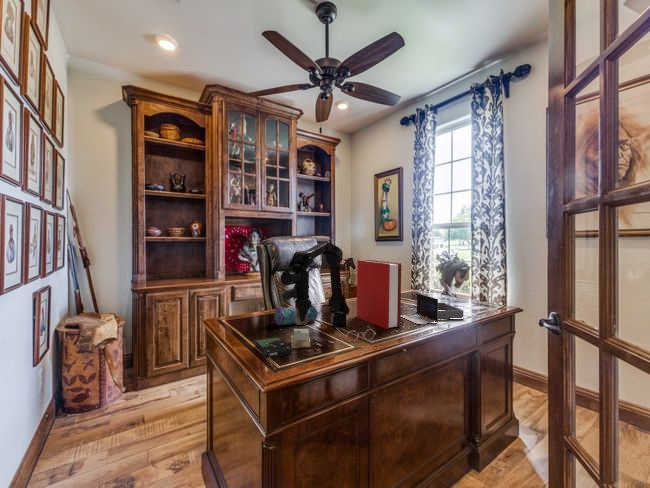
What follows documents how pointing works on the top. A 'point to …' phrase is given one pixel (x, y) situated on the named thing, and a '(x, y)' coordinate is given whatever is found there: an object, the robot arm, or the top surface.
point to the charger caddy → (449, 311)
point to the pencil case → (292, 315)
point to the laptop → (425, 310)
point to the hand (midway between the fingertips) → (301, 319)
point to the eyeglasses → (358, 333)
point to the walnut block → (299, 318)
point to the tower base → (299, 343)
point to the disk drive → (273, 347)
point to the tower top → (301, 334)
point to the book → (379, 292)
